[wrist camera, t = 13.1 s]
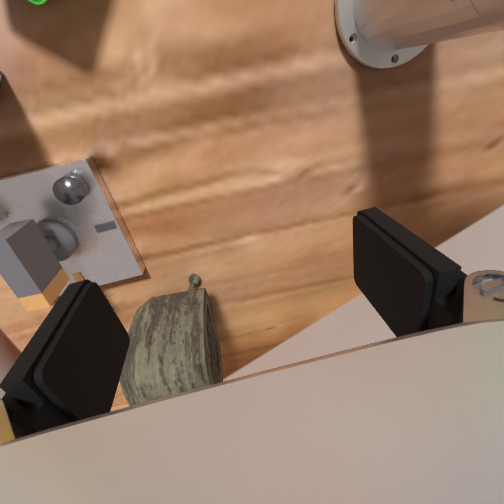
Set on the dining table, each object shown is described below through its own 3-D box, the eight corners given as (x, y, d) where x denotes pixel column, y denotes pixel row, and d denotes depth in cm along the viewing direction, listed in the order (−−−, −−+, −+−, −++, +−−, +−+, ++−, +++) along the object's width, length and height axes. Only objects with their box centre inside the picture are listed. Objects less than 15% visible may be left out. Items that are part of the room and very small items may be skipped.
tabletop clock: (219, 332, 50) (231, 516, 29) (167, 342, 50) (140, 537, 28) (203, 263, 43) (202, 441, 21) (142, 274, 42) (78, 467, 21)
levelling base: (-45, 188, 33) (-74, 200, 30) (91, 155, 33) (78, 163, 30) (36, 294, 41) (21, 313, 38) (145, 266, 42) (140, 283, 38)
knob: (58, 206, 33) (20, 237, 27) (89, 264, 38) (63, 303, 31) (13, 215, 33) (-38, 248, 26) (49, 272, 37) (14, 314, 30)
